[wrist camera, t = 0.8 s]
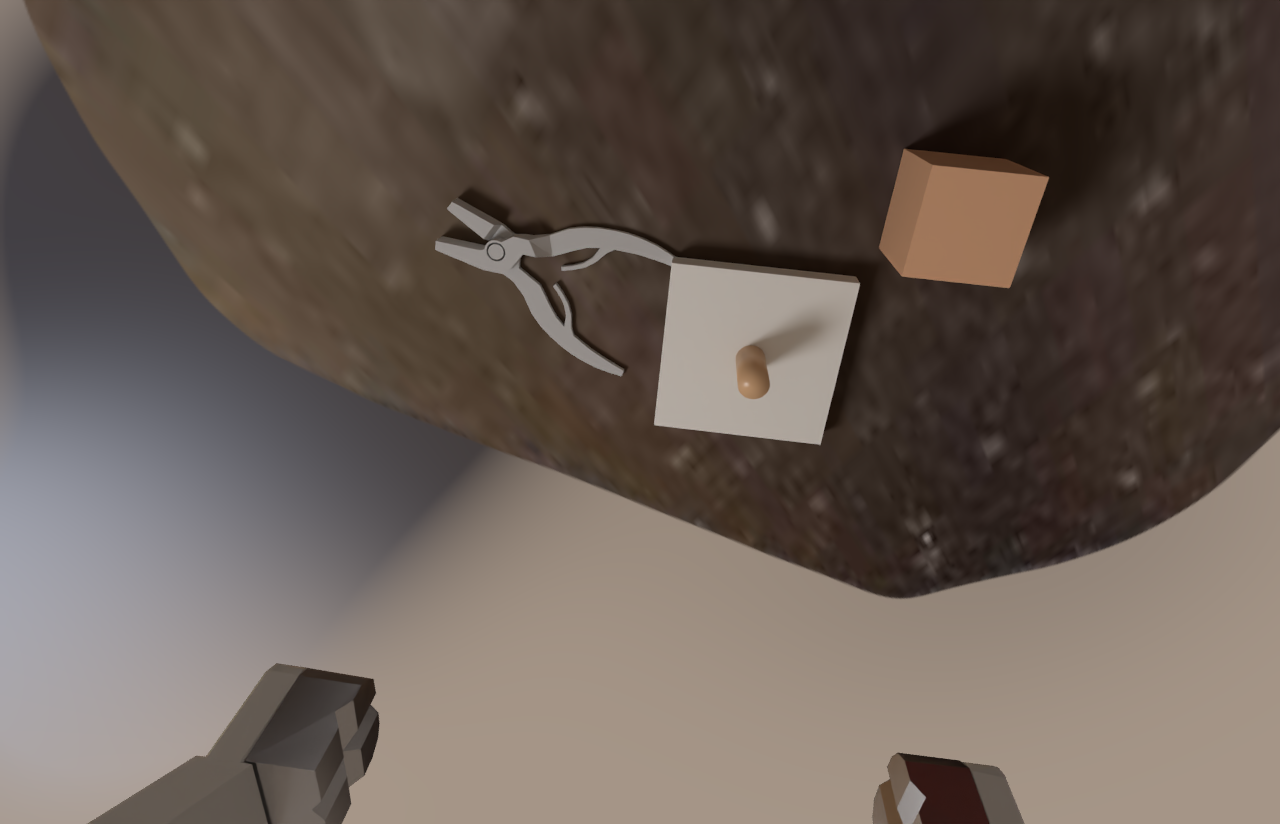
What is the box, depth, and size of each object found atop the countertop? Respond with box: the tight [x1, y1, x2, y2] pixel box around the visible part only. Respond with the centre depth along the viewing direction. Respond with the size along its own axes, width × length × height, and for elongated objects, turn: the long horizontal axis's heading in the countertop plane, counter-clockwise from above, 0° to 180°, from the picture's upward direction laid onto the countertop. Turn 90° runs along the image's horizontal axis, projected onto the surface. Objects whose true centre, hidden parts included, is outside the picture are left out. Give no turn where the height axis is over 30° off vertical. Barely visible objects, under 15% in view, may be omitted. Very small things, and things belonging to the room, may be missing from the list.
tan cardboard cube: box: [879, 149, 1049, 288], centre depth 40 cm, size 6×6×6 cm
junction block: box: [654, 257, 860, 444], centre depth 46 cm, size 12×12×6 cm
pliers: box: [435, 198, 676, 376], centre depth 47 cm, size 10×2×15 cm
